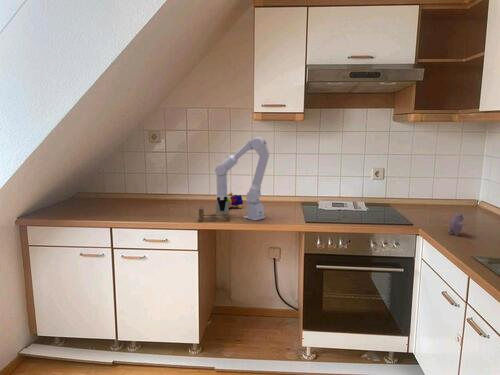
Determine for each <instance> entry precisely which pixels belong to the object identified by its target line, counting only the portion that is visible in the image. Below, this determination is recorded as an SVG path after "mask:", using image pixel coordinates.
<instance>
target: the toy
mask: <svg viewBox="0 0 500 375" xmlns="http://www.w3.org/2000/svg"><path fill="white" fill-rule="evenodd" d="M227 194H228V195H227V196H226V197H227V201H226V202H228V205H229V207H231V206H235V207H237V206H238V209H242V208H243V206H242V205H244V204H243V203H244V200H243V197H242V195H241V194H239V195H237V194H234V195H233V192H229V193H227Z"/></svg>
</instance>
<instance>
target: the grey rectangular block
mask: <svg viewBox="0 0 500 375" xmlns="http://www.w3.org/2000/svg"><path fill="white" fill-rule="evenodd" d="M229 208H230V206H229V205H228V202H226V204H225V210H224V211H220V206H219V203H218V201H217V202H215V214H228V213H229V212H230V211H229V210H230V209H229ZM229 214H230V213H229Z"/></svg>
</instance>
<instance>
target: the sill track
mask: <svg viewBox="0 0 500 375" xmlns="http://www.w3.org/2000/svg"><path fill="white" fill-rule="evenodd" d="M204 210H205V208H204V206H203V205H201V206H199V208H198V222H200V223H202V222H203V223H205V222H207V223H208V222H209V223H211V222H215V223H216V222H218V223H220V222H230V213H224V214H216V213H205V211H204Z"/></svg>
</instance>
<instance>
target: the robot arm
mask: <svg viewBox="0 0 500 375" xmlns="http://www.w3.org/2000/svg"><path fill="white" fill-rule="evenodd" d="M251 150H254V151H255V152H256V153H257V154H258V156H259V158H258V161H257V164H256V168H255V172H254V176H253V179H252V183H251V185H250V188H249V190H248V192H247V193H246V196H245V198H246V215H245V216H243V218H244V219H248V220H252V221H259V220H263V219H266V216H265V205H264V204H263V203H261V200H260V197H261V196H262V195H261V194H262V193H261V189H262V187H261V186H262V183H263V179H264V176H265V172H266V168H267V166H268V165H267V164H268V161H269V159H270V158H269V157H270V151H269V148H268V144H267V141H266V140H265V139H264V138H263V136H256V137H253V138H252V139H251V140H248V141H247V142H246V143H245V144H244V145H243V146H242V147H240V149H239V150H237V151H236V153H234V154H230V155H227V156H226V158H225V159H224V160H223V161H221V162H220V164H217V165H216V167H215V169H214V172H215V174H216V193H215V194H214V196H215V197H216V200H217V202H218V203H219V206H220V211H224V210H225V204H226V201H227V197H228V196H227V195H228V194H229V193H228V177H227V176H228V172H229V171H230V170H231V169H232V168H234V166H236V165H238V161H239V159H240V158H241V157H243V156H244V155H245V154H246V153H247V152H249V151H251ZM226 196H227V197H226Z"/></svg>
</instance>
